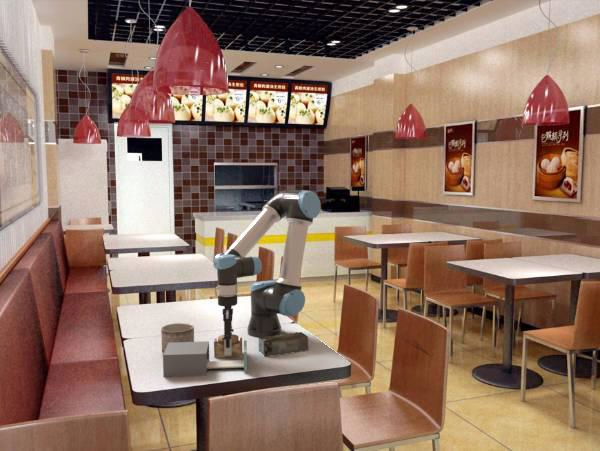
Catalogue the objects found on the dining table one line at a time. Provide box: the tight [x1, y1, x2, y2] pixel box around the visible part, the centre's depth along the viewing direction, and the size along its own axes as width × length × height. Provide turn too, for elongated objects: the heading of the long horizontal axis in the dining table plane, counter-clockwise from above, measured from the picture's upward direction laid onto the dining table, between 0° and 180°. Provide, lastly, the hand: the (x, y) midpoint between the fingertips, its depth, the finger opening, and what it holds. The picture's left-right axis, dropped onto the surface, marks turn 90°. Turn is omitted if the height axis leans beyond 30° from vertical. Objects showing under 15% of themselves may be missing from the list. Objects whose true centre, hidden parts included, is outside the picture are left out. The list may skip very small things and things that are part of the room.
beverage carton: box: [258, 331, 309, 357], centre depth 227 cm, size 8×19×7 cm, turn 112°
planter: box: [160, 322, 195, 354], centre depth 225 cm, size 13×13×10 cm
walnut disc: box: [217, 333, 240, 345], centre depth 222 cm, size 8×8×2 cm
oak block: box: [213, 337, 243, 358], centre depth 222 cm, size 11×5×6 cm, turn 95°
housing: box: [162, 340, 210, 378], centre depth 207 cm, size 15×15×8 cm
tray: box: [207, 339, 248, 373], centre depth 208 cm, size 15×14×7 cm
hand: (228, 351), depth 222 cm, fingers closed on walnut disc, 8 cm apart
